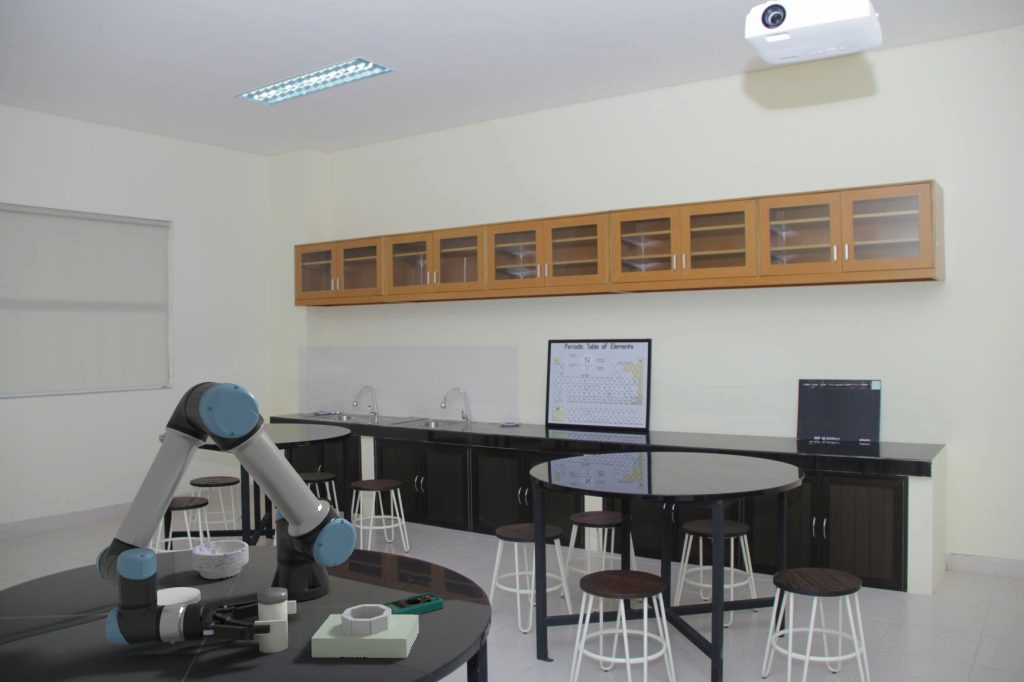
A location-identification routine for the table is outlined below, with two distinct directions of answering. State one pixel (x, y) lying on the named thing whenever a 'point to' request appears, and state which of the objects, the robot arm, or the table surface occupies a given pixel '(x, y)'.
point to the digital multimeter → (415, 604)
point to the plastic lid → (178, 596)
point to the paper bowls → (219, 558)
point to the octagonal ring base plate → (366, 633)
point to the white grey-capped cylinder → (272, 617)
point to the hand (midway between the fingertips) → (291, 616)
